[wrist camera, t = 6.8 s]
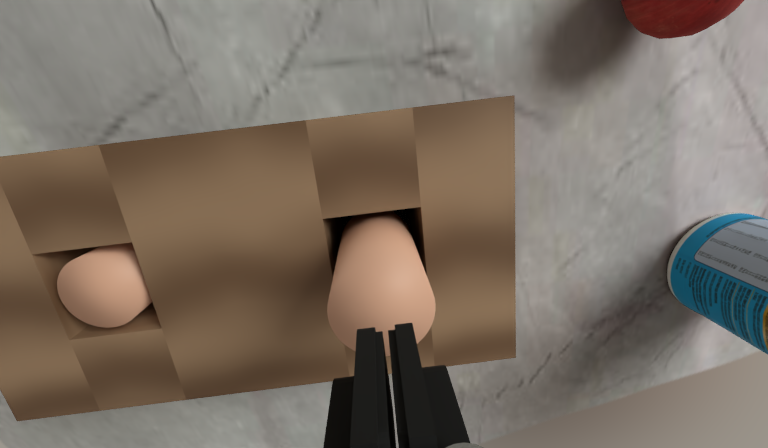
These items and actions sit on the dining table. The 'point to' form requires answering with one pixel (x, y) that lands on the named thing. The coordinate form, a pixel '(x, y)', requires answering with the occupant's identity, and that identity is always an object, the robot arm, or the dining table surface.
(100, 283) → the peg
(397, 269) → the peg
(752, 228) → the beverage bottle
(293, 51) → the dining table surface
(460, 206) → the peg block
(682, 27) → the onion
